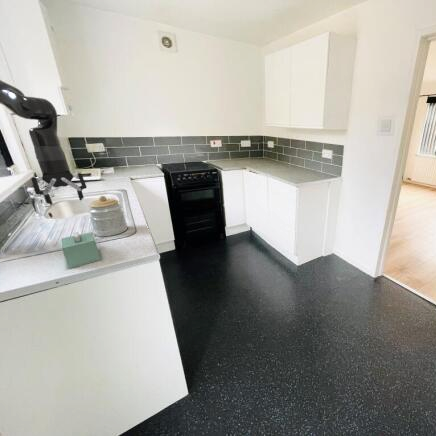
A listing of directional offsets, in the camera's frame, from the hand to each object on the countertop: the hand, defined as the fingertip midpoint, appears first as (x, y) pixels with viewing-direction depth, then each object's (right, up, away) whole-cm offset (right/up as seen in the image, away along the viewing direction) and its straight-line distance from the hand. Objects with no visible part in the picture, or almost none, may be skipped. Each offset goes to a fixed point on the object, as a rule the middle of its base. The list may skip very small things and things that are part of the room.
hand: (66, 202), depth 93 cm
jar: (-1, -13, +25) cm, 28 cm away
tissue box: (+7, -22, -1) cm, 23 cm away
